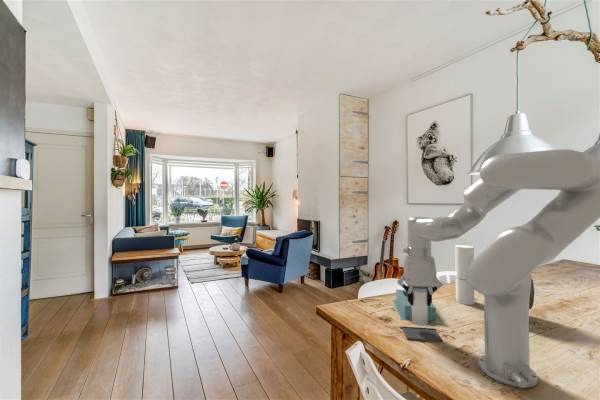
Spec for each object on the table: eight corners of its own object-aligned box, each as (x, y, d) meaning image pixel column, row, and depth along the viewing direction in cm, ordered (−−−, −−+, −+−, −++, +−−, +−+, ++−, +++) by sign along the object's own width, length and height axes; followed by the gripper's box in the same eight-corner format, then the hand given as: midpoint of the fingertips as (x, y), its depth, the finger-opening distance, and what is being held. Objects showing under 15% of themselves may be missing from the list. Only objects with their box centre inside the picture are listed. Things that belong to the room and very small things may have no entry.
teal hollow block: (441, 324, 100) (440, 308, 100) (401, 322, 102) (401, 306, 102) (425, 303, 120) (425, 289, 120) (392, 301, 123) (392, 288, 123)
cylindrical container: (477, 305, 117) (476, 248, 117) (459, 304, 119) (458, 247, 119) (470, 299, 124) (469, 245, 124) (453, 298, 126) (452, 244, 126)
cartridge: (429, 326, 91) (429, 289, 91) (413, 324, 92) (413, 288, 92) (425, 319, 96) (425, 284, 96) (410, 318, 97) (410, 284, 97)
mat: (442, 342, 88) (442, 340, 88) (407, 339, 89) (407, 338, 89) (432, 326, 98) (432, 325, 98) (400, 324, 100) (400, 323, 100)
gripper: (395, 253, 92) (395, 307, 92) (449, 255, 89) (449, 310, 89) (392, 249, 99) (392, 299, 99) (441, 250, 96) (442, 301, 96)
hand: (419, 303), depth 94 cm, fingers closed on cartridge, 5 cm apart
